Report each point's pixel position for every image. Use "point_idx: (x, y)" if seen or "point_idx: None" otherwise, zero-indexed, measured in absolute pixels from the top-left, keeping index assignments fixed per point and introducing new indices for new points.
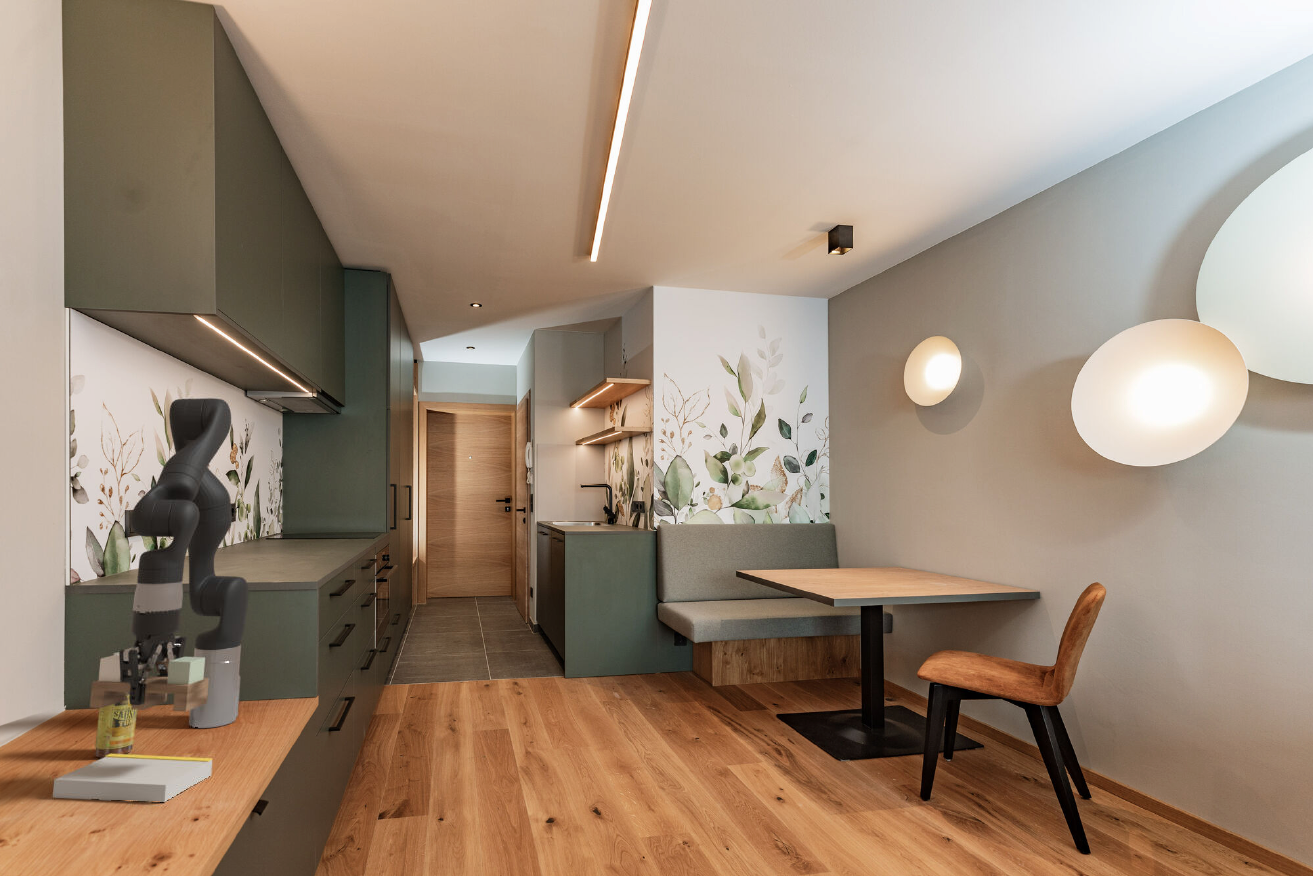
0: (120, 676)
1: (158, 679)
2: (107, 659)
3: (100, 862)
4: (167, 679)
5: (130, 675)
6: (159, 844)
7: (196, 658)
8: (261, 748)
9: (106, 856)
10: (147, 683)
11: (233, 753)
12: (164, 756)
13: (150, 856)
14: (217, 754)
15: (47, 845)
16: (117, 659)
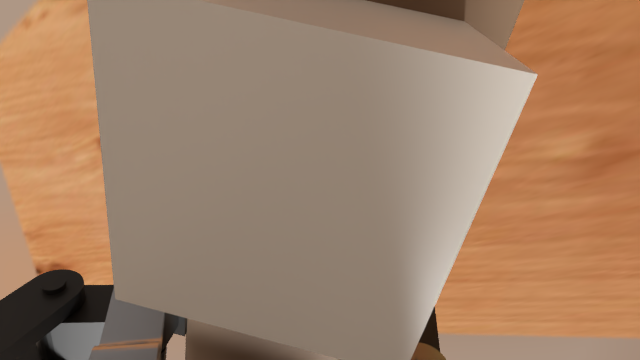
0: (9, 295)
1: (302, 356)
2: (106, 109)
3: (21, 205)
4: None
5: (39, 346)
6: (86, 258)
7: None
8: (567, 303)
9: (38, 204)
10: (201, 334)
11: (544, 253)
12: None
13: (54, 259)
14: (549, 219)
15: (41, 90)
16: (113, 252)
